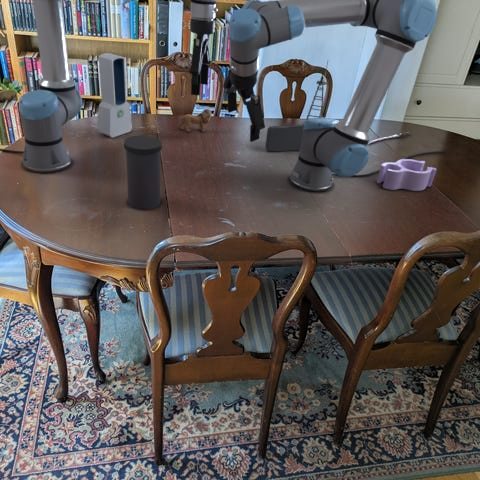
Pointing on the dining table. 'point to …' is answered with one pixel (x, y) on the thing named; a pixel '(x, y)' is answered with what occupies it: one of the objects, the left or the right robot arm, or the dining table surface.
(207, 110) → the lion figurine
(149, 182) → the jar
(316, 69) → the miniature windmill
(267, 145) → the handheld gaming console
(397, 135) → the sword
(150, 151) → the lid
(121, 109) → the electronic device
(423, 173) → the clip
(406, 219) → the dining table surface
